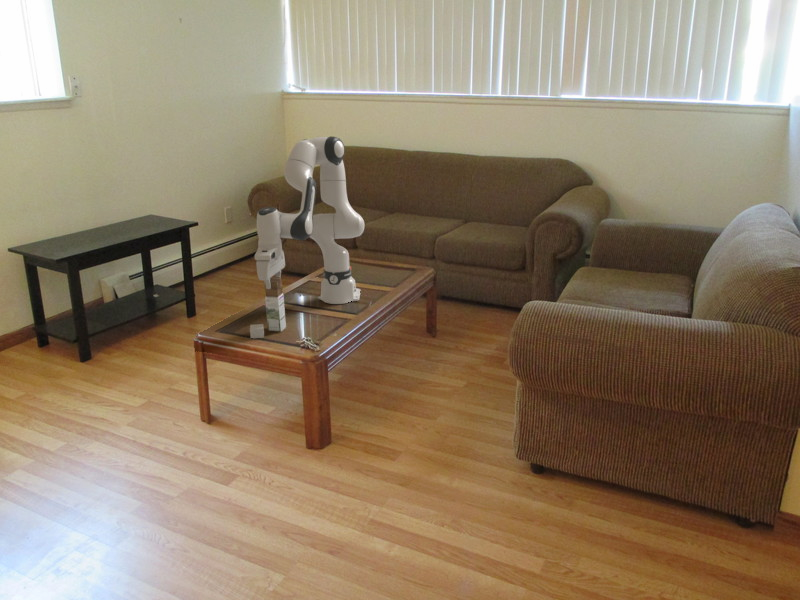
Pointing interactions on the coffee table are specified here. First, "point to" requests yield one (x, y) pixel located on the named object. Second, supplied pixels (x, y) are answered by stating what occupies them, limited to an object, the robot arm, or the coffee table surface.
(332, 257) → the robot arm
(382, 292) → the coffee table surface
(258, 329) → the grey block
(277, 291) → the walnut block
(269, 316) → the syrup box
